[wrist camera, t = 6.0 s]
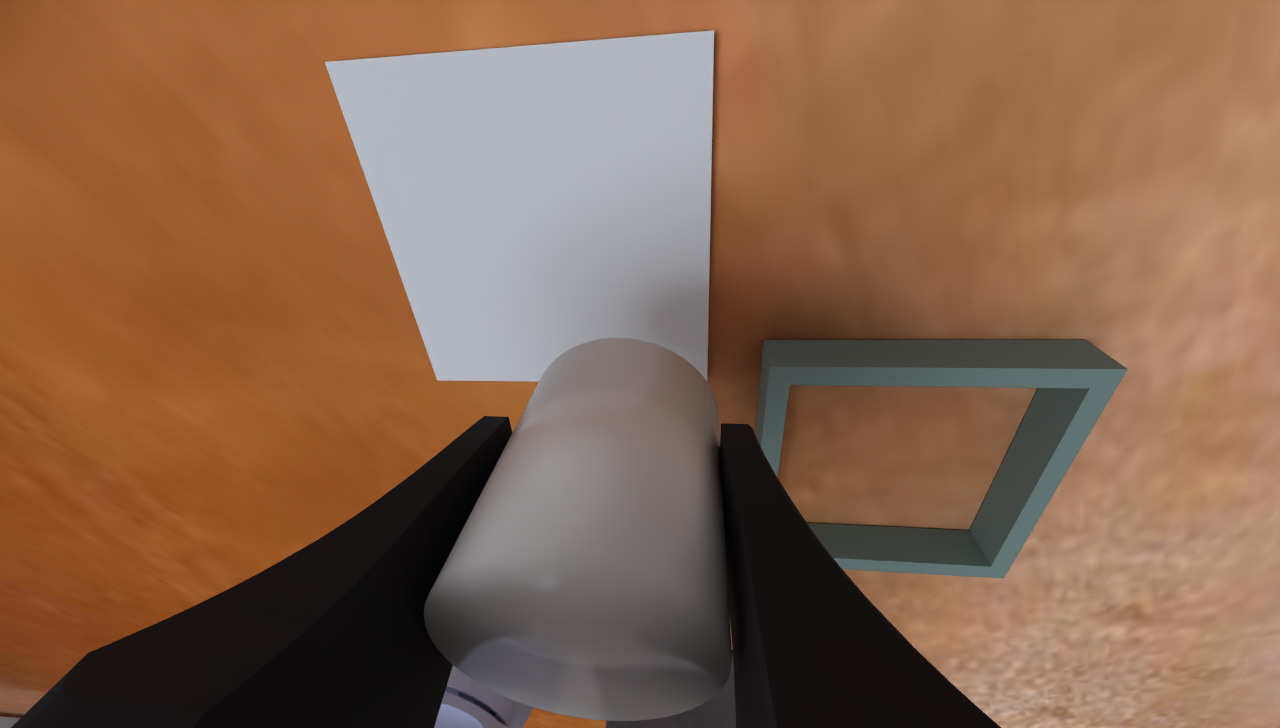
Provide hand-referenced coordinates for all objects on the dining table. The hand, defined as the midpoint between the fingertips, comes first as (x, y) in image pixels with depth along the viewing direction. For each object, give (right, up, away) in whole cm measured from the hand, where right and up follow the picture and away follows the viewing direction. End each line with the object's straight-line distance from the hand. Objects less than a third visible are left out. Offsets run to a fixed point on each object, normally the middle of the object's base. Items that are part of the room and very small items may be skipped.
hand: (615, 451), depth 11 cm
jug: (0, +1, +1) cm, 2 cm away
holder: (+12, -2, +10) cm, 15 cm away
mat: (-3, +7, +6) cm, 10 cm away
